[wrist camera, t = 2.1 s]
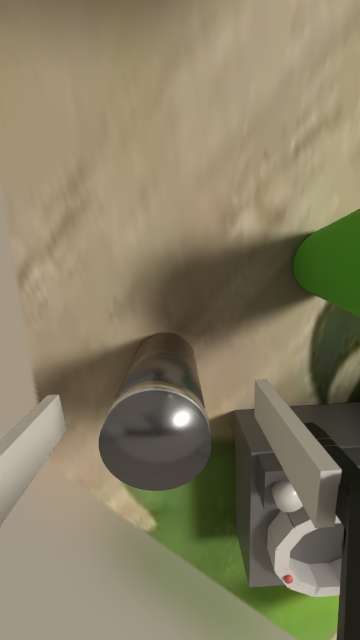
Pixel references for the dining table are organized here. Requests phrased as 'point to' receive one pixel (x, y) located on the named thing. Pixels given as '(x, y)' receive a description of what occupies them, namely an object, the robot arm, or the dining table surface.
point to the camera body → (288, 506)
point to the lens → (158, 419)
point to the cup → (332, 263)
